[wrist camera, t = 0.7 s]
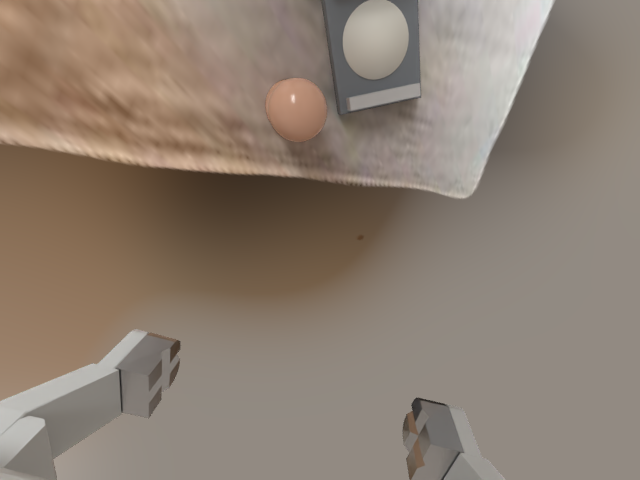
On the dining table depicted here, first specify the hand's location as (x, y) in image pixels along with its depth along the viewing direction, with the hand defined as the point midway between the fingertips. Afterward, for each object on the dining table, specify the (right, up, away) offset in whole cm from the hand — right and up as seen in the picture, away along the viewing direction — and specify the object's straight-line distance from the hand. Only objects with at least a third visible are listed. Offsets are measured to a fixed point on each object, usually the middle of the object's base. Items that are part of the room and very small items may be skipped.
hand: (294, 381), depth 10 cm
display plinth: (+8, +32, +32) cm, 46 cm away
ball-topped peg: (-3, +24, +34) cm, 42 cm away
